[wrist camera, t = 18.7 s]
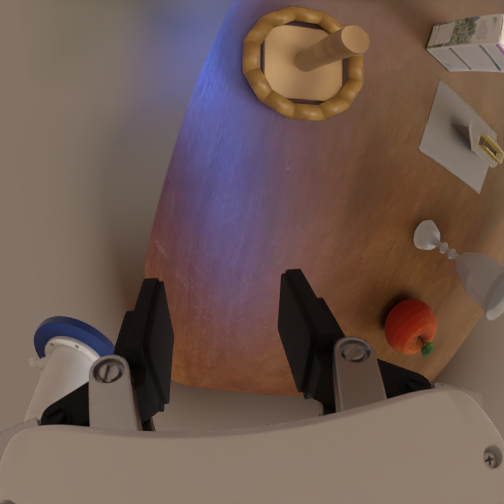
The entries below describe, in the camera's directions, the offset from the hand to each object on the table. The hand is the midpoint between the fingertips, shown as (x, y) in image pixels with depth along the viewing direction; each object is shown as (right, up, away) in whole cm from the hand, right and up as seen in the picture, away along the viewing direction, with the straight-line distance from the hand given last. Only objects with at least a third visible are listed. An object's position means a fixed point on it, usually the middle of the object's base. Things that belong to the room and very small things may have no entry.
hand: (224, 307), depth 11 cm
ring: (+7, +22, +14) cm, 27 cm away
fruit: (+27, -8, +35) cm, 45 cm away
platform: (+34, +20, +22) cm, 45 cm away
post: (+7, +23, +16) cm, 29 cm away
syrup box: (+28, +32, +15) cm, 45 cm away
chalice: (+28, +5, +28) cm, 40 cm away
